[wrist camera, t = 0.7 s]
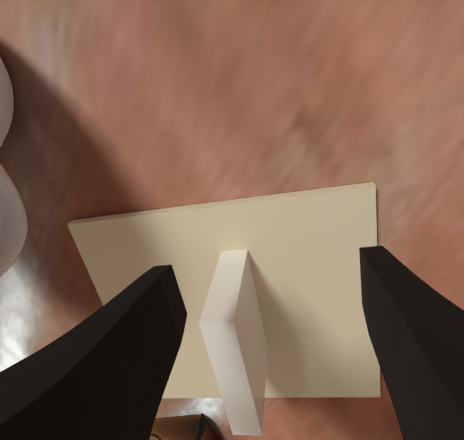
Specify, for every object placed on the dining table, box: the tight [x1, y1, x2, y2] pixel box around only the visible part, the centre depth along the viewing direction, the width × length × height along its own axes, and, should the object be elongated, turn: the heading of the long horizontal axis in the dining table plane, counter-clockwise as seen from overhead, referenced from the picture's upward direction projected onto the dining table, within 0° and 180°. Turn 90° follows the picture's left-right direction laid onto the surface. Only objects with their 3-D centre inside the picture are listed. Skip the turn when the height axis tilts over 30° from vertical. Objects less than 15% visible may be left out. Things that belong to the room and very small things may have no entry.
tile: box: [199, 250, 268, 435], centre depth 20 cm, size 2×8×6 cm, turn 11°
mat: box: [67, 182, 381, 398], centre depth 24 cm, size 18×16×1 cm
